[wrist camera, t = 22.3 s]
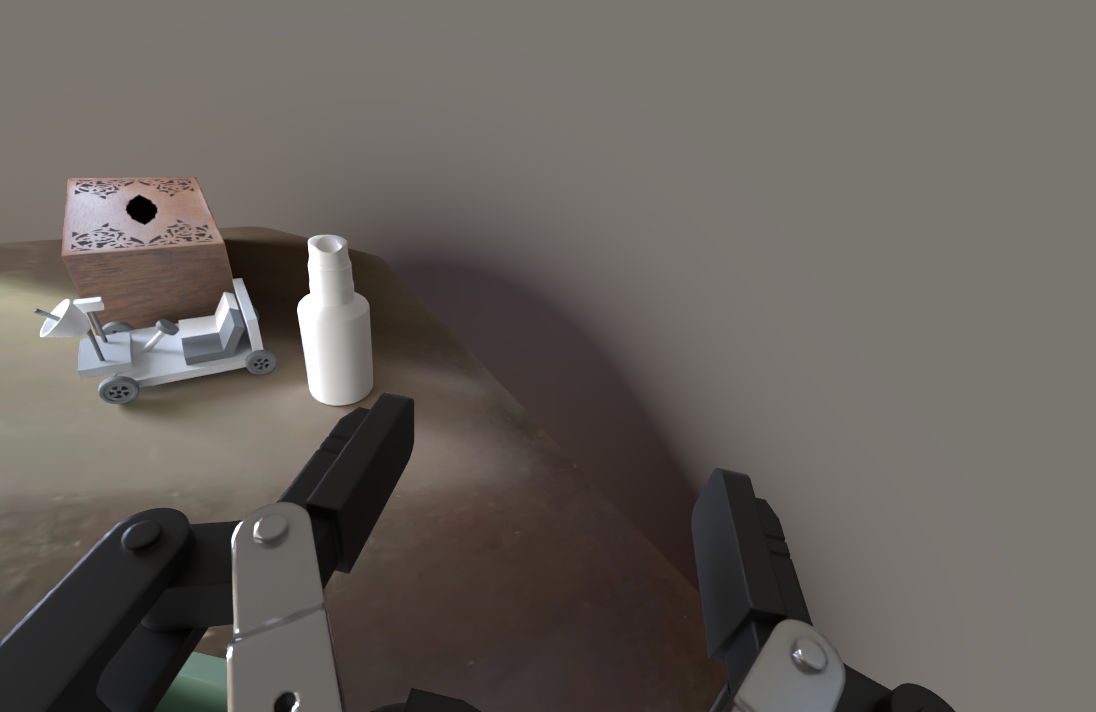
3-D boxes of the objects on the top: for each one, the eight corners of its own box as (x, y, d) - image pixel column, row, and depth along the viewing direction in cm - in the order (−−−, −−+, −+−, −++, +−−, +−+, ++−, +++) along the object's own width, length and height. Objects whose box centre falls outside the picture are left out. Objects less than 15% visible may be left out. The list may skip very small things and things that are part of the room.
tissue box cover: (95, 246, 70) (68, 178, 64) (211, 238, 78) (196, 177, 72) (96, 335, 54) (61, 255, 49) (240, 313, 63) (224, 243, 57)
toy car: (20, 329, 39) (35, 270, 46) (68, 415, 45) (74, 350, 52) (264, 298, 49) (245, 252, 56) (278, 371, 55) (260, 321, 62)
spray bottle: (369, 366, 58) (361, 227, 48) (378, 401, 54) (371, 255, 43) (308, 373, 55) (285, 227, 45) (312, 411, 51) (288, 257, 40)
